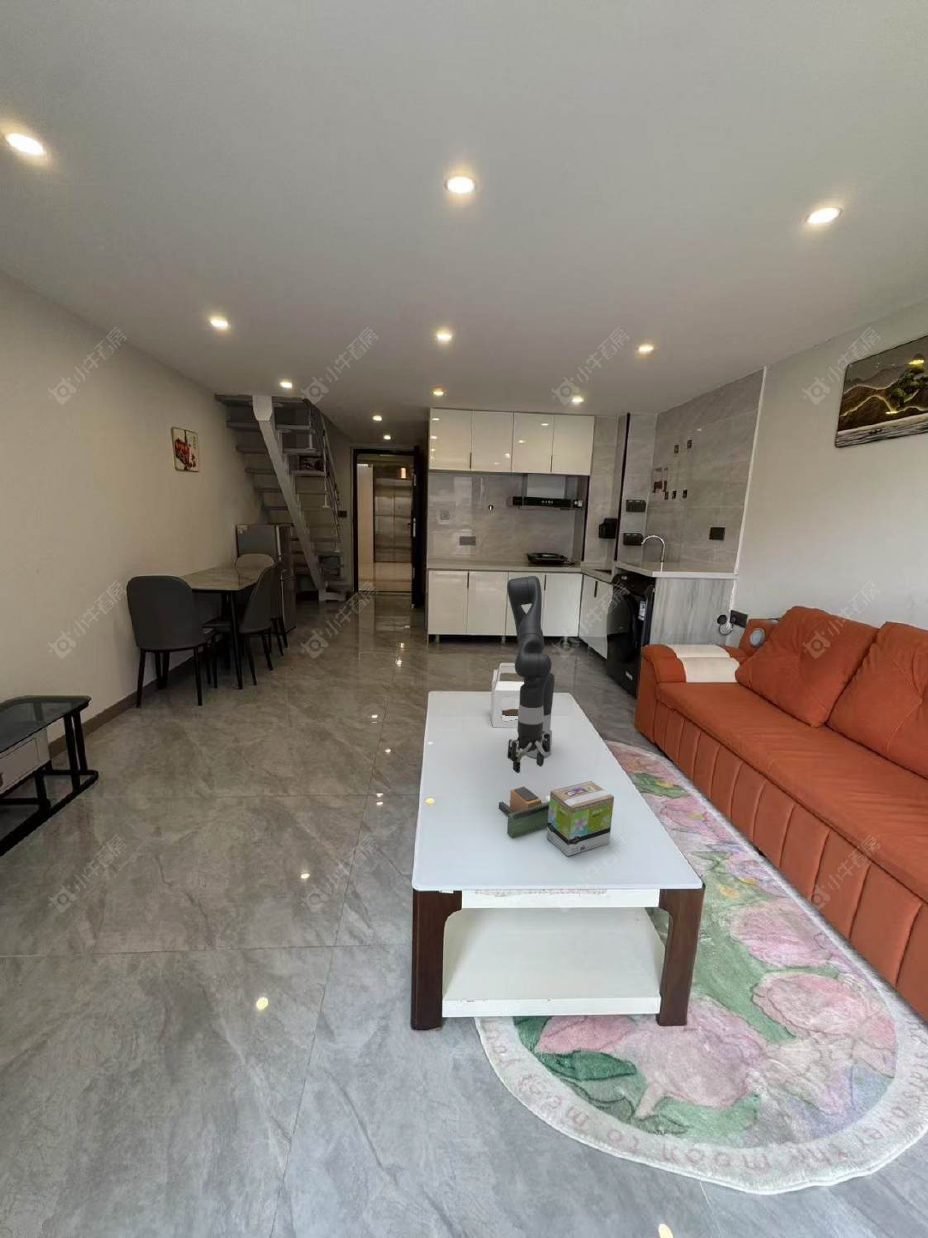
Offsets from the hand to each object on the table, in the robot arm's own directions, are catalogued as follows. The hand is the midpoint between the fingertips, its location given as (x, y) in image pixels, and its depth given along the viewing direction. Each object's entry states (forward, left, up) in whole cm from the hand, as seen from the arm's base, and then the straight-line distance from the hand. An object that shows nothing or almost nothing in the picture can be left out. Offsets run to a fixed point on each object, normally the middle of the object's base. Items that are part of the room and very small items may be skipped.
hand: (528, 768), depth 152 cm
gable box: (-40, -62, -15) cm, 75 cm away
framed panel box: (0, 0, -15) cm, 15 cm away
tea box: (-5, +18, -15) cm, 24 cm away
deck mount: (0, +2, -15) cm, 15 cm away
